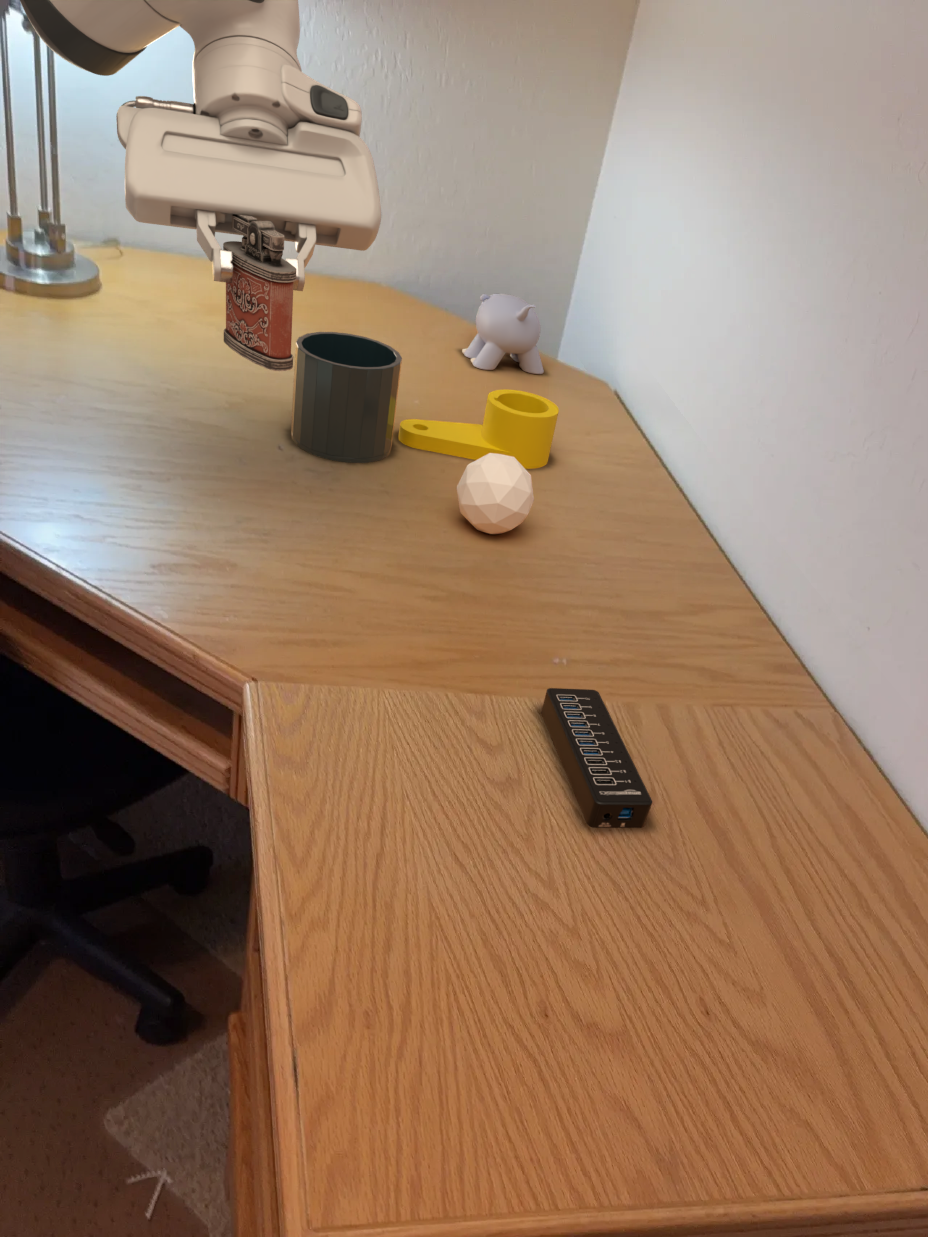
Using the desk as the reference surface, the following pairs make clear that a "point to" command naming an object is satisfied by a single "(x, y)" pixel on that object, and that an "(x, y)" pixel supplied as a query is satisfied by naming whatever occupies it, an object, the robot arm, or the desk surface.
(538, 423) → the crank
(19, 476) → the desk surface
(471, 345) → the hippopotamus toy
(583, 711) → the multiport hub
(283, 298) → the lighter
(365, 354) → the pen cup
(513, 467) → the geometric ball
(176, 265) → the desk surface
